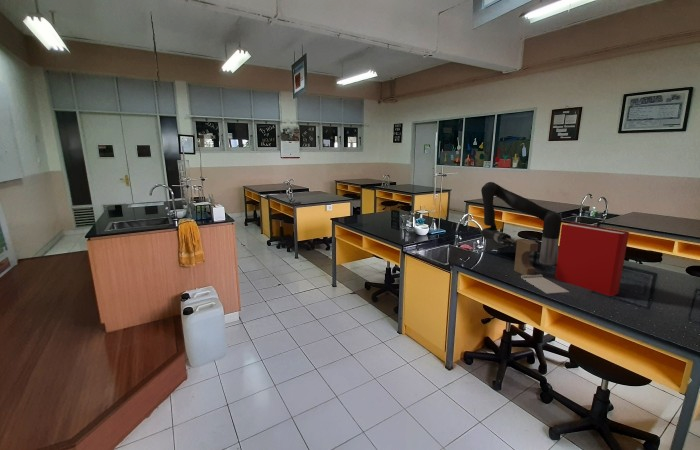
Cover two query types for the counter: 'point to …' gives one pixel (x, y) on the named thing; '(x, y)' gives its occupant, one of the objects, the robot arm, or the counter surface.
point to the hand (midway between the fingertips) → (518, 245)
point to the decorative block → (524, 256)
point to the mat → (543, 284)
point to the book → (591, 257)
